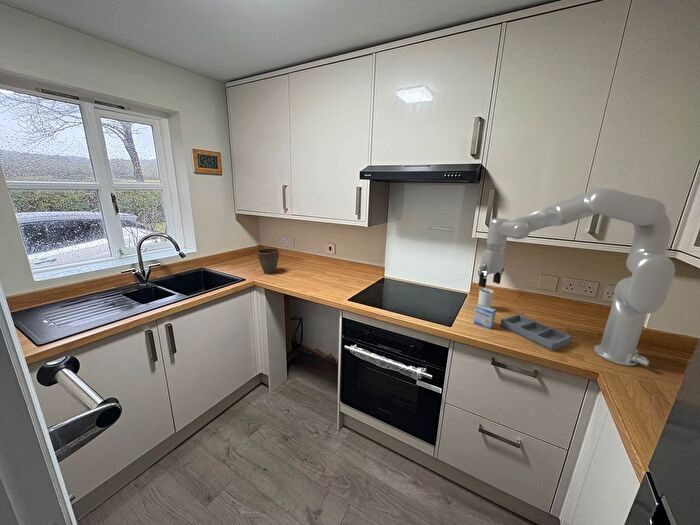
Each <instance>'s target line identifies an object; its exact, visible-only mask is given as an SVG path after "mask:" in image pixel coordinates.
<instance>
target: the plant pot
mask: <svg viewBox="0 0 700 525" xmlns="http://www.w3.org/2000/svg"><path fill="white" fill-rule="evenodd" d="M256 252H257V253H256V254H257V256H258V261H259V263H260V267H261V268H262V271H263V272H264V274H266V275H270V274H275V273H276V270H277V268H278V262H279V255H280V250H279V248H270V247H269V248H262V249H261V248H260V249H258V250H257V251H256Z"/></svg>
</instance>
